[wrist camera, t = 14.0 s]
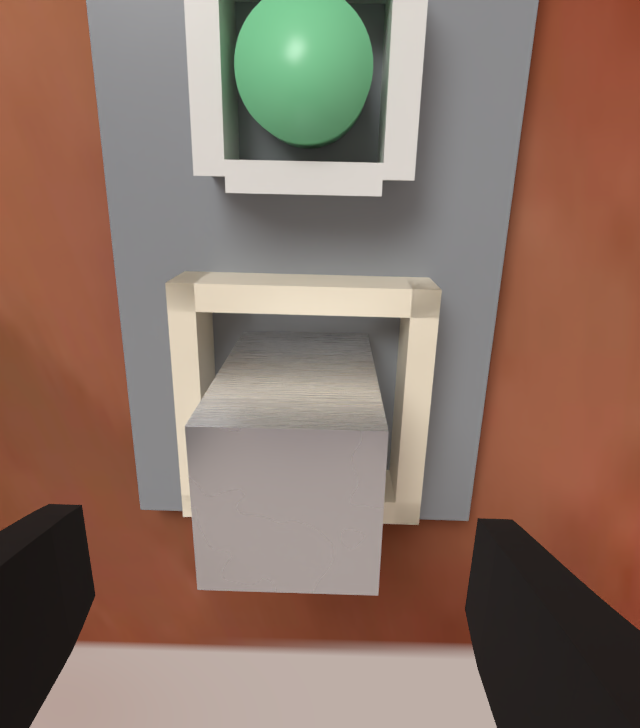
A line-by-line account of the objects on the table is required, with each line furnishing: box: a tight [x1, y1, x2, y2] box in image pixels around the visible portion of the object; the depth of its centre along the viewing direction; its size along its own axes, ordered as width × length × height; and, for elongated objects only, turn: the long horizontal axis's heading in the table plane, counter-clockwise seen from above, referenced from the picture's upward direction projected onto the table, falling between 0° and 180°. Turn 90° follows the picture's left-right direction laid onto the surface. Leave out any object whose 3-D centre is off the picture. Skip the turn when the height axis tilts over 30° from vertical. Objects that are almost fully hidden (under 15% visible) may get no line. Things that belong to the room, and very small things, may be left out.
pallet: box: [86, 0, 539, 525], centre depth 16 cm, size 12×18×3 cm, turn 179°
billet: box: [185, 331, 389, 596], centre depth 14 cm, size 4×4×7 cm
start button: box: [234, 0, 373, 149], centre depth 13 cm, size 3×3×2 cm
